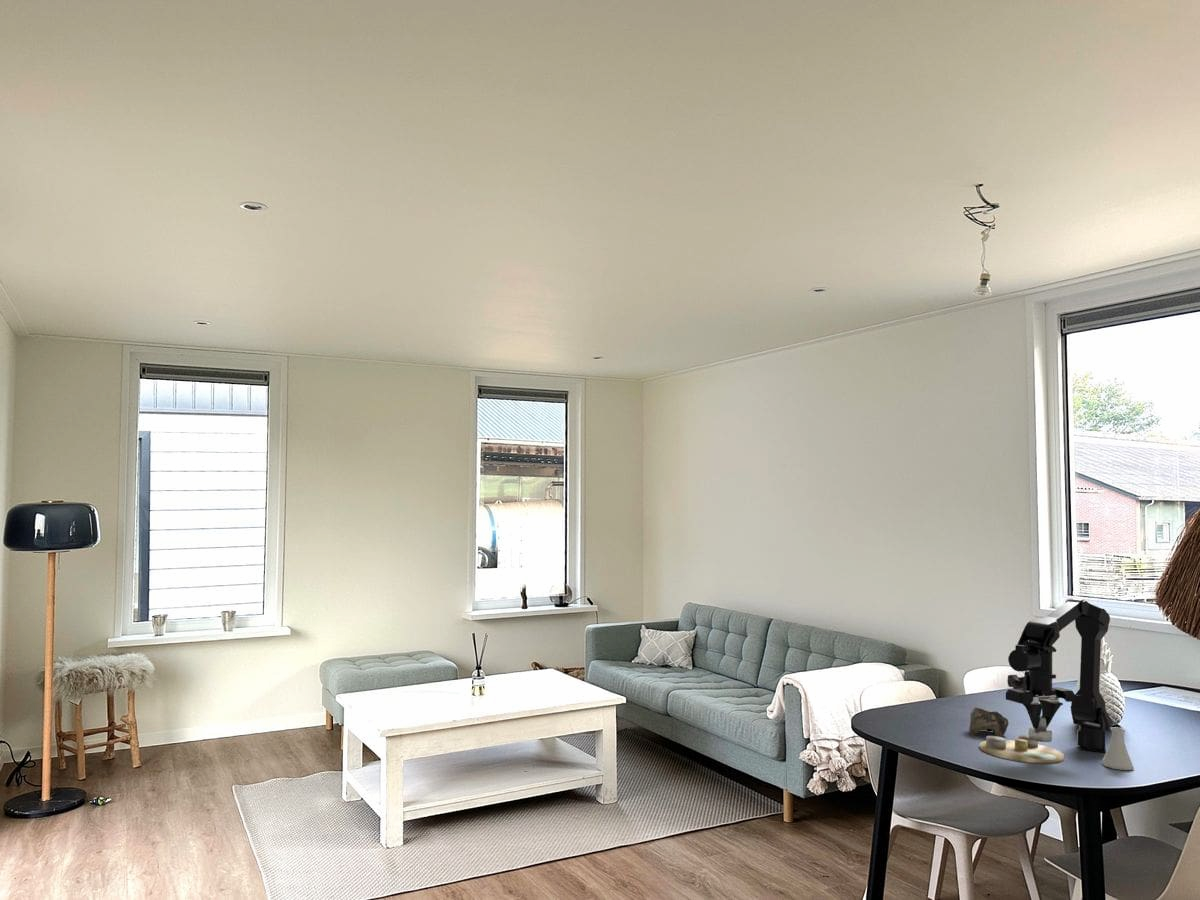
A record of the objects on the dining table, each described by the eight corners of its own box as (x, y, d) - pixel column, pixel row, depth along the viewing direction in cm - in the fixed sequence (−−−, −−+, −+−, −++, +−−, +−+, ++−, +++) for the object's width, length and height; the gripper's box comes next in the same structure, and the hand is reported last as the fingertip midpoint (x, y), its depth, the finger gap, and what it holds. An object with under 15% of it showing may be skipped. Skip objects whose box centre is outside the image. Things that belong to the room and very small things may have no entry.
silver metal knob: (1051, 738, 243) (1051, 716, 243) (1051, 743, 238) (1052, 720, 238) (1028, 735, 245) (1028, 713, 246) (1028, 740, 240) (1028, 717, 241)
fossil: (1005, 730, 271) (1009, 703, 267) (1008, 751, 263) (1012, 724, 259) (966, 725, 274) (969, 698, 270) (968, 745, 267) (971, 719, 263)
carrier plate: (1063, 749, 252) (1063, 737, 252) (1065, 767, 233) (1065, 755, 234) (981, 738, 261) (981, 727, 262) (977, 755, 243) (977, 742, 243)
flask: (1122, 763, 240) (1122, 725, 241) (1139, 771, 233) (1139, 732, 234) (1096, 762, 240) (1096, 724, 241) (1112, 770, 233) (1112, 731, 233)
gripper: (1044, 663, 253) (1043, 719, 252) (990, 664, 247) (990, 722, 246) (1076, 670, 243) (1076, 729, 242) (1021, 672, 237) (1021, 732, 236)
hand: (1040, 727), depth 242 cm, fingers closed on silver metal knob, 3 cm apart
